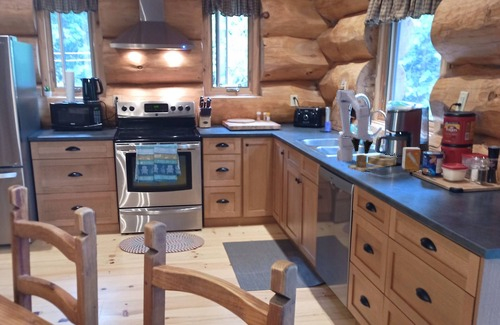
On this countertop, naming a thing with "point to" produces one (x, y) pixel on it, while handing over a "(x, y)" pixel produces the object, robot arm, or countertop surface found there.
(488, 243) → the countertop surface
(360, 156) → the walnut block
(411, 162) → the small box
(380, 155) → the lid
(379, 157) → the puzzle board
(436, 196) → the countertop surface
